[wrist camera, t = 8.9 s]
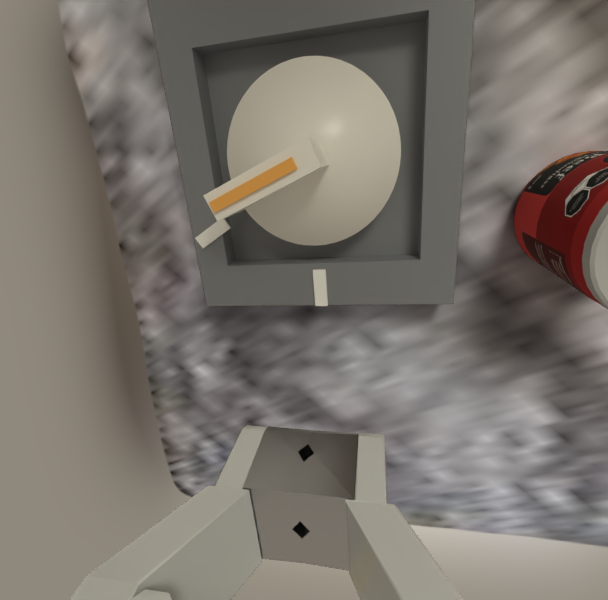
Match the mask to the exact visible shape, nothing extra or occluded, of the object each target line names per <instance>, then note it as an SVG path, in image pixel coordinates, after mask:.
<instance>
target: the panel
mask: <svg viewBox="0 0 608 600" xmlns="http://www.w3.org/2000/svg"><path fill="white" fill-rule="evenodd" d="M147 1H148V7H149V12H150V17H151V22H152V27H153V32H154V37H155V43H156V48H157V53H158V58H159V63H160V68H161V73H162V79H163V84H164V89H165V94H166V99H167V104H168V109H169V114H170V120H171V125H172V130H173V135H174V140H175V145H176V150H177V156H178V161H179V166H180V171H181V176H182V181H183V186H184V192H185V197H186V202H187V207H188V212H189V217H190V222H191V227H192V233H193V238H194V243H195V248H196V253H197V258H198V263H199V269H200V274H201V279H202V284H203V289H204V294H205V299H206V305H207V306H277V305H315V306H328V305H397V304H454V290H455V277H456V263H457V249H458V235H459V221H460V208H461V194H462V180H463V166H464V152H465V138H466V125H467V111H468V97H469V83H470V69H471V55H472V42H473V28H474V14H475V0H147ZM303 56H325V57H332V58H335V59H339V60H342V61H344V62H347V63H349V64H351V65H353V66H355V67H357V68H358V69H360V70H361V71H363V72H364V73H365V74H366V75H368V76H369V77H370V78H371V79H372V80H373V81H374V82H375V83H376V84H377V85H378V86H379V88H380V89H381V90H382V91H383V93H384V94H385V96H386V98H387V99H388V101H389V103H390V105H391V107H392V109H393V111H394V114H395V117H396V120H397V123H398V127H399V133H400V139H401V159H400V168H399V172H398V177H397V180H396V183H395V186H394V189H393V191H392V193H391V195H390V197H389V199H388V201H387V202H386V204H385V206H384V207H383V209H382V210H381V211H380V213H379V214H378V215H377V216H376V217H375V218H374V220H372V221H371V222H370V223H369V224H368V225H367V226H366V227H365V228H363V229H362V230H360V231H359V232H357V233H356V234H354V235H352V236H350V237H348V238H347V239H344V240H341V241H338V242H335V243H331V244H327V245H317V246H312V245H301V244H295V243H292V242H288V241H285V240H283V239H281V238H278V237H276V236H274V235H273V234H271V233H269V232H268V231H266V230H265V229H264V228H263V227H261V226H260V225H259V224H258V223H257V222H256V221H255V220H254V219H253V218H252V217H251V216H250V215H249V214H248V212H247V211H246V210H245V209H244V210H242V211H241V212H239V213H236V214H234V215H232V216H229V217H227V218H225V219H222V220H220V221H218V222H217V220H216V218H215V216H214V214H213V213H212V211H211V209H210V207H209V205H208V204H207V202H206V200H205V198H204V196H203V195H205V194H207V193H209V192H210V191H212V190H214V189H216V188H218V187H219V186H221V185H223V184H225V183H226V182H228V181H230V180H231V178H230V174H229V169H228V161H227V141H228V134H229V129H230V125H231V122H232V118H233V115H234V113H235V111H236V108H237V106H238V104H239V102H240V101H241V99H242V97H243V95H244V94H245V93H246V92H247V90H248V89H249V88H250V86H251V85H252V84H253V83H254V82H255V81H256V80H257V79H258V78H259V77H260V76H261V75H263V74H264V73H265V72H267V71H268V70H269V69H271V68H273V67H275V66H276V65H278V64H280V63H282V62H285V61H288V60H290V59H294V58H298V57H303Z"/></svg>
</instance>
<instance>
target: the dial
mask: <svg viewBox="0 0 608 600" xmlns="http://www.w3.org/2000/svg"><path fill="white" fill-rule="evenodd" d="M400 159H401V139H400V133H399V127H398V123H397V120H396V117H395V114H394V111H393V109H392V107H391V105H390V103H389V101H388V99H387V98H386V96H385V94H384V93H383V91H382V90H381V89H380V88H379V86H378V85H377V84H376V83H375V82H374V81H373V80H372V79H371V78H370V77H369V76H368V75H366V74H365V73H364V72H363V71H361V70H360V69H358V68H357V67H355V66H353V65H351V64H349V63H347V62H344V61H342V60H339V59H335V58H332V57H325V56H303V57H298V58H294V59H290V60H288V61H285V62H282V63H280V64H278V65H276V66H275V67H273V68H271V69H269V70H268V71H267V72H265V73H264V74H263V75H261V76H260V77H259V78H258V79H257V80H256V81H255V82H254V83H253V84H252V85H251V86H250V88H249V89H248V90H247V92H246V93H245V94H244V95H243V97H242V99H241V101H240V102H239V104H238V106H237V108H236V111H235V113H234V115H233V118H232V122H231V125H230V129H229V134H228V141H227V161H228V169H229V174H230V178H231V180H230V181H228V182H226V183H225V184H223V185H221V186H219V187H218V188H216V189H214V190H212V191H210V192H209V193H207V194H205V195H203V196H204V198H205V200H206V202H207V204H208V205H209V207H210V209H211V211H212V213H213V214H214V216H215V218H216V220H217V222H218V221H220V220H222V219H225V218H227V217H229V216H232V215H234V214H236V213H239V212H241V211H242V210H244V209H245V210H246V211H247V212H248V214H249V215H250V216H251V217H252V218H253V219H254V220H255V221H256V222H257V223H258V224H259V225H260V226H261V227H263V228H264V229H265V230H266V231H268V232H269V233H271V234H273V235H274V236H276V237H278V238H281V239H283V240H285V241H288V242H292V243H295V244H301V245H312V246H317V245H327V244H331V243H335V242H338V241H341V240H344V239H347V238H348V237H350V236H352V235H354V234H356V233H357V232H359V231H360V230H362V229H363V228H365V227H366V226H367V225H368V224H369V223H370V222H371V221H372V220H374V218H375V217H376V216H377V215H378V214H379V213H380V211H381V210H382V209H383V207H384V206H385V204H386V202H387V201H388V199H389V197H390V195H391V193H392V191H393V189H394V186H395V183H396V180H397V177H398V172H399V168H400Z"/></svg>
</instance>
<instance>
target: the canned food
mask: <svg viewBox="0 0 608 600" xmlns="http://www.w3.org/2000/svg"><path fill="white" fill-rule="evenodd" d="M514 227H515V235H516V237H517V240H518V243H519V245H520V246H521V248H522V249H523V250H524V252H525V253H526V254H527V255H529V256H530V257H531V258H532V259H533V260H535V261H536V262H538V263H539V264H541V265H542V266H544V267H545V268H547V269H548V270H550V271H551V272H553V273H554V274H556V275H557V276H559V277H560V278H561V279H563V280H564V281H566V282H567V283H569V284H570V285H572V286H573V287H575V288H576V289H578V290H579V291H581V292H582V293H584V294H585V295H586V296H588V297H589V298H591V299H592V300H594V301H596V302H598V303H599V304H601V305H602V306H604V307H605V308H607V309H608V151H588V152H581V153H575V154H572V155H569V156H566V157H563V158H561V159H559V160H557V161H555V162H554V163H552V164H550V165H549V166H547V167H546V168H545V169H543V170H542V171H541V172H539V173H538V174H537V175H536V176H535V177H534V178H533V179H532V180H531V181H530V182H529V183H528V185H527V186H526V187H525V189H524V190H523V192H522V194H521V196H520V198H519V200H518V202H517V205H516V209H515V213H514Z"/></svg>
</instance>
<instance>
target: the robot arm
mask: <svg viewBox="0 0 608 600" xmlns="http://www.w3.org/2000/svg"><path fill="white" fill-rule="evenodd" d="M262 559H270V560H280V561H290V562H299V563H307V564H313V565H319V566H325V567H330V568H336V569H342V570H348V571H349V574H350V576H351V578H352V581H353V583H354V585H355V588H356V590H357V593H358V595H359V597H360V599H361V600H463V599H462V597H461V596H460V594H459V593H458V591H457V590H456V589H455V587H454V586H453V584H452V583H451V582H450V580H449V579H448V578H447V576H446V575H445V574H444V572H443V571H442V569H441V568H440V566H439V565H438V564H437V562H436V561H435V560H434V558H433V557H432V555H431V554H430V553H429V551H428V550H427V549H426V547H425V546H424V544H423V543H422V542H421V540H420V539H419V537H418V536H417V535H416V533H415V532H414V531H413V529H412V528H411V526H410V525H409V524H408V522H407V521H406V519H405V518H404V517H403V515H402V514H401V512H400V511H399V510H398V508H397V507H396V506H395V505H394V504H387V502H386V473H385V443H384V436H383V434H375V433H348V432H330V431H311V430H300V429H289V428H278V427H261V426H250V425H246V426H245V427H244V428H243V429H242V430H241V432H240V434H239V436H238V439H237V441H236V443H235V445H234V447H233V449H232V451H231V453H230V455H229V457H228V459H227V461H226V463H225V465H224V468H223V470H222V472H221V474H220V476H219V478H218V480H217V482H216V484H215V486H206V487H205V488H204V489H202V490H201V491H200V492H198V493H197V494H196V495H194V496H193V497H192V498H190V499H189V500H188V501H186V502H185V503H184V504H182V505H181V506H180V507H178V508H177V509H175V510H174V511H173V512H172V513H170V514H169V515H167V516H166V517H165V518H163V519H162V520H161V521H159V522H158V523H157V524H155V525H154V526H153V527H151V528H150V529H149V530H147V531H146V532H145V533H143V534H142V535H140V536H139V537H138V538H136V539H135V540H134V541H132V542H131V543H130V544H128V545H127V546H126V547H124V548H123V549H122V550H120V551H119V552H118V553H116V554H115V555H114V556H112V557H111V558H110V559H108V560H107V561H106V562H104V563H103V564H102V565H100V566H99V567H97V568H96V569H95V570H94V571H92V572H91V573H89V574H88V575H87V576H86V577H85V578H84V580H83V581H82V583H81V584H80V586H79V587H78V588H77V590H76V592H75V593H74V594H73V596H72V597H71V599H70V600H231V599H232V598H233V597H234V596H235V594H236V593H237V592H238V591H239V589H240V588H241V587H242V586H243V585H244V583H245V582H246V581H247V580H248V578H249V577H250V576H251V575H252V574H253V572H254V571H255V570H256V568H257V567H258V566H259V565H260V564H261V563H262Z"/></svg>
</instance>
